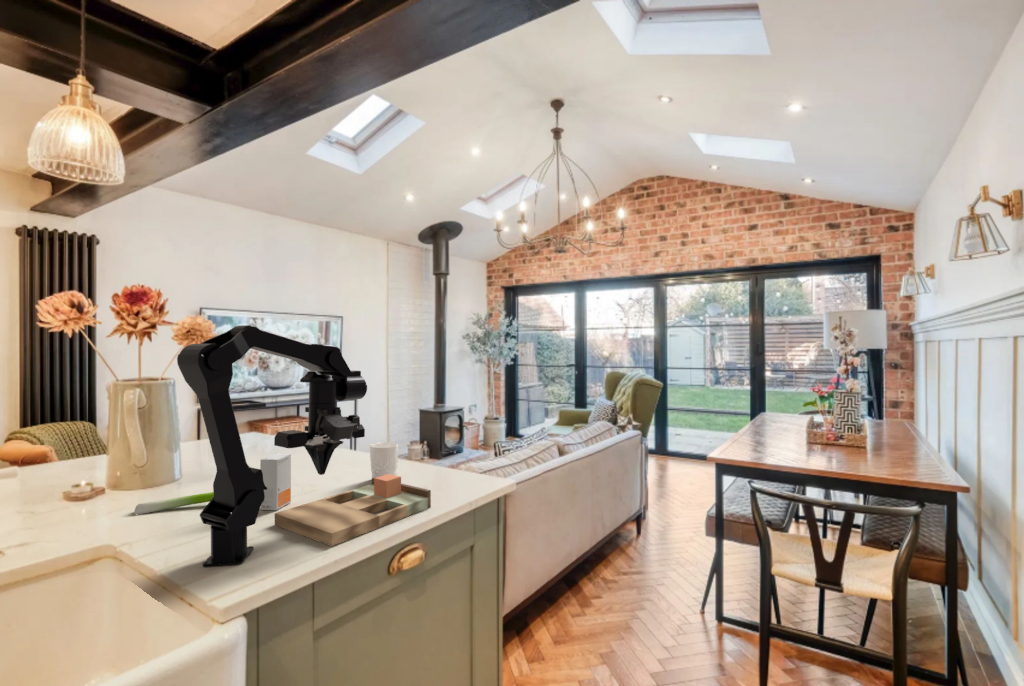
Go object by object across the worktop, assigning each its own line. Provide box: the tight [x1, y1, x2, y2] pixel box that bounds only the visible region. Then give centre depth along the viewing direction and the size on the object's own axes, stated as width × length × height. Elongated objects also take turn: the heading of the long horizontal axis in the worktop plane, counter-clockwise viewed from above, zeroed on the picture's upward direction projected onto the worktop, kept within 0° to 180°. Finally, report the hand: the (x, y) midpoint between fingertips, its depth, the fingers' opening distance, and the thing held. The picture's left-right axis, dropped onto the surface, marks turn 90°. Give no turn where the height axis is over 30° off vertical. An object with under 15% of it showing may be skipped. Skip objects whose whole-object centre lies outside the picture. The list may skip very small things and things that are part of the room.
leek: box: [133, 491, 214, 516], centre depth 118 cm, size 6×7×30 cm
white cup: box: [369, 441, 399, 479], centre depth 140 cm, size 8×8×10 cm
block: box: [374, 474, 402, 498], centre depth 118 cm, size 4×4×4 cm
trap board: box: [274, 477, 432, 547], centre depth 111 cm, size 27×20×4 cm
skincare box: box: [259, 453, 292, 511], centre depth 117 cm, size 6×4×12 cm
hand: (321, 474), depth 107 cm, fingers closed
